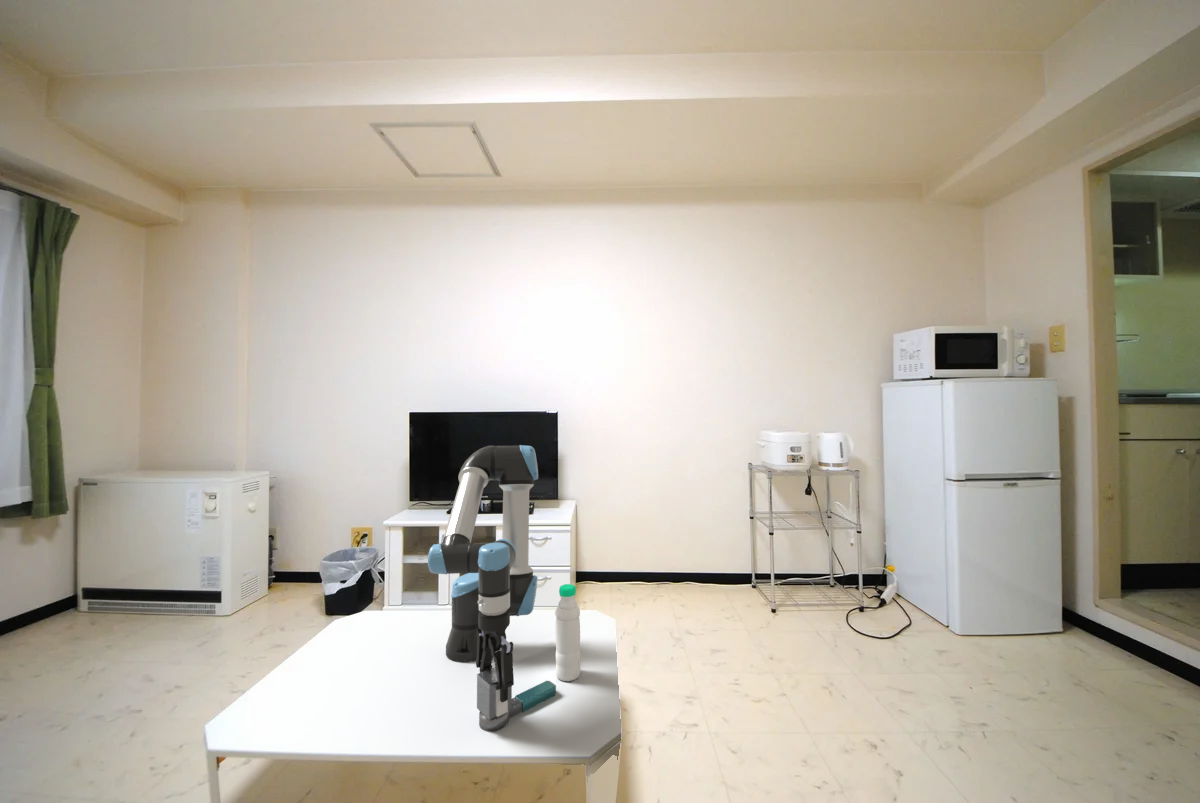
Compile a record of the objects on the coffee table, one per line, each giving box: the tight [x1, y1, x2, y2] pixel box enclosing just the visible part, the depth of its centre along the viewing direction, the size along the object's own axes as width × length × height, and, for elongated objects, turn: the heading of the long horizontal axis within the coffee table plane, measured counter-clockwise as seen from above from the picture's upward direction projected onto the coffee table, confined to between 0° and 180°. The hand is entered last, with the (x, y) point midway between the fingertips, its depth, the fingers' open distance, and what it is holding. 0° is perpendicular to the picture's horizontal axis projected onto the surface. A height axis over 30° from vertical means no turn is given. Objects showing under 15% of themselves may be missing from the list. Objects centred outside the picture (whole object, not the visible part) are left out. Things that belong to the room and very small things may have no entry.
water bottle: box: [554, 583, 581, 682], centre depth 130 cm, size 7×7×25 cm
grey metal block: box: [476, 666, 513, 720], centre depth 110 cm, size 6×6×8 cm
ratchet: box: [478, 680, 557, 733], centre depth 114 cm, size 21×7×6 cm, turn 133°
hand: (494, 706), depth 110 cm, fingers open, 6 cm apart
